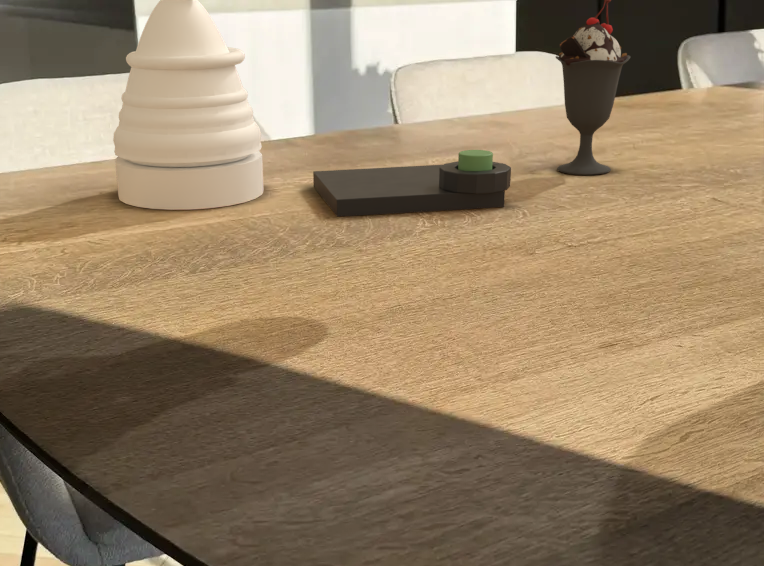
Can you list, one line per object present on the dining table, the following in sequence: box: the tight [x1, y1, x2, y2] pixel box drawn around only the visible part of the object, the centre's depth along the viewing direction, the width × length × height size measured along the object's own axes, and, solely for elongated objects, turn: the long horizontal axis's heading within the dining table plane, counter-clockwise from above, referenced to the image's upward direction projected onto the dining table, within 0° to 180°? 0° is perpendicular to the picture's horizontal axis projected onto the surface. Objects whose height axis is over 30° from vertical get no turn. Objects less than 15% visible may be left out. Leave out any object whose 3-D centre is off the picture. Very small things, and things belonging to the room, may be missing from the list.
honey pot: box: [112, 0, 265, 211], centre depth 95 cm, size 13×13×18 cm
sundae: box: [555, 0, 631, 176], centre depth 102 cm, size 7×7×15 cm
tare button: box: [457, 149, 494, 171], centre depth 92 cm, size 3×3×2 cm
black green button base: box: [312, 161, 512, 218], centre depth 95 cm, size 15×13×3 cm
